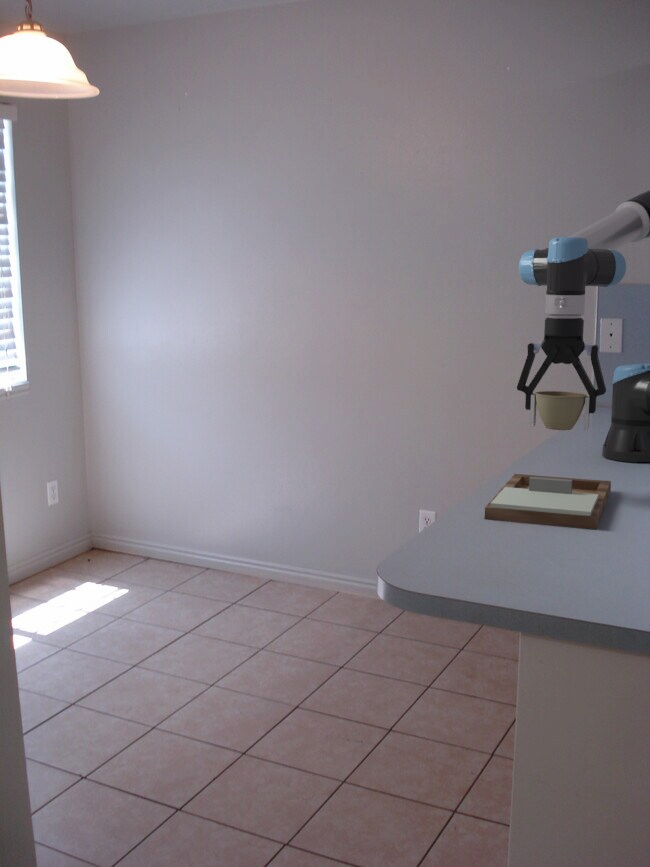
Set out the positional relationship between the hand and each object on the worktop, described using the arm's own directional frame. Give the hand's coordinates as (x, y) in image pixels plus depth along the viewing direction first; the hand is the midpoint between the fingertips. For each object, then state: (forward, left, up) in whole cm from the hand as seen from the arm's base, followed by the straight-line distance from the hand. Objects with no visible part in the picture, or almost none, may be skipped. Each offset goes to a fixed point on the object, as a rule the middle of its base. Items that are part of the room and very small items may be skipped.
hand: (559, 427), depth 191 cm
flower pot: (0, 0, 0) cm, 0 cm away
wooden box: (+6, +4, -14) cm, 16 cm away
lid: (+13, +9, -12) cm, 20 cm away
